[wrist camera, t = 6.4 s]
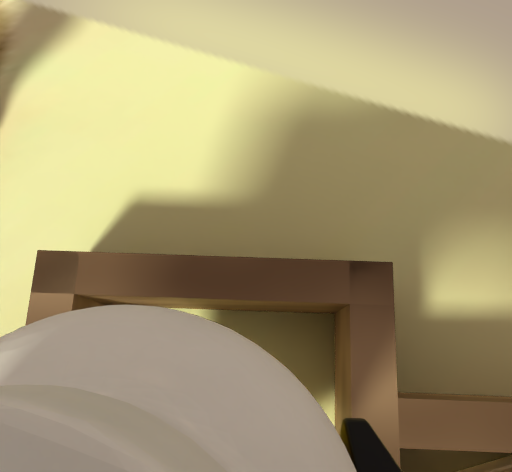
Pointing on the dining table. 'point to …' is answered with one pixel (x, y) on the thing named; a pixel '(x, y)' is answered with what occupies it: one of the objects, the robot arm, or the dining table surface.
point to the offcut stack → (492, 466)
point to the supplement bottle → (154, 398)
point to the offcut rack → (289, 300)
